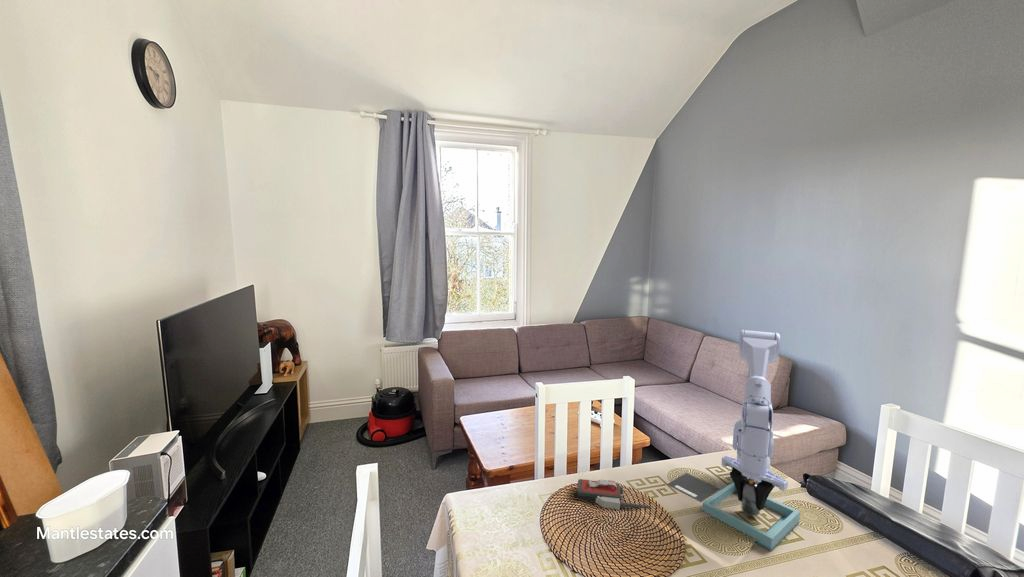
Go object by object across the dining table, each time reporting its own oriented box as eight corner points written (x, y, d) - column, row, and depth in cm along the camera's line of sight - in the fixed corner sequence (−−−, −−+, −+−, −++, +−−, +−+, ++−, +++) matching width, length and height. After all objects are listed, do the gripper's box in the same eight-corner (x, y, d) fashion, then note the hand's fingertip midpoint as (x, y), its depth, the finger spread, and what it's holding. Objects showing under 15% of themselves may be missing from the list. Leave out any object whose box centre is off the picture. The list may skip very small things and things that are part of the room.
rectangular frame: (732, 491, 114) (733, 481, 114) (799, 523, 101) (800, 511, 101) (702, 513, 104) (702, 502, 104) (771, 551, 92) (772, 538, 91)
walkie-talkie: (572, 505, 108) (651, 515, 104) (572, 490, 108) (652, 499, 104) (573, 486, 117) (647, 495, 113) (574, 472, 116) (648, 480, 113)
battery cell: (745, 503, 105) (747, 474, 105) (762, 511, 102) (764, 481, 101) (738, 509, 103) (739, 479, 102) (755, 517, 100) (757, 486, 99)
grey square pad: (686, 476, 122) (686, 472, 122) (719, 492, 114) (720, 488, 114) (666, 487, 116) (666, 483, 116) (700, 505, 108) (700, 501, 108)
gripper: (716, 444, 104) (713, 495, 106) (780, 469, 93) (776, 526, 94) (730, 437, 109) (727, 485, 110) (792, 460, 97) (788, 514, 98)
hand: (750, 503), depth 102 cm, fingers closed on battery cell, 4 cm apart
